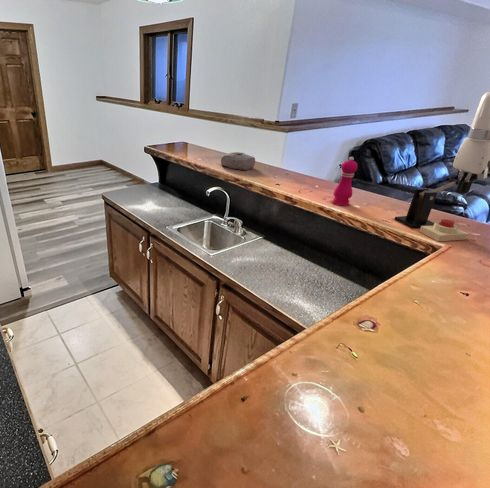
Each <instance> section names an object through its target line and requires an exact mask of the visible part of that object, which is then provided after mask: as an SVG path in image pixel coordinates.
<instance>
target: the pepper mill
mask: <svg viewBox="0 0 490 488" xmlns="http://www.w3.org/2000/svg"><path fill="white" fill-rule="evenodd" d="M358 168H359V166H358V163H357V161H355V158H354V156H350V157H348V160H345V161H343V162H342V163H341V167H340V169H341V172H340V176H341V177H340V180H339V183H338V184H337V185H336V187H335V188H334V190H333V196H334V197H333V199H332V204H334V205H336V206H341V207H343V206H344V207H345V206H349V203H350V199H351V198H352V197H353V187H352V179H353V178H354V177H355V172H356V171H357V170H358Z"/></svg>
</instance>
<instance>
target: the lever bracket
mask: <svg viewBox="0 0 490 488" xmlns="http://www.w3.org/2000/svg"><path fill="white" fill-rule="evenodd" d="M425 190H427V191H429V188H415V190H414V192H413V195H412V198H411V201H410V205H409V207H408V210H407V213H406V215H402V216H401V215H399V216H394V219H393V220H395V221H396V222H399V223H400V224H402V225H404V226H406V227H408V228H410V229H412V230H416V229H420V228H421V226H431V225H434V223H435V222H433V221H432V220H429V217H430V215H431V212H432V209H433V207H434V204H435V200H436V198H437V195H438V192H425V193H424V195H423V198H422V200H421V199H419V193H420V192H423V191H425Z"/></svg>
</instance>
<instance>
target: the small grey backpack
mask: <svg viewBox="0 0 490 488" xmlns="http://www.w3.org/2000/svg"><path fill="white" fill-rule="evenodd" d="M219 159H220V165H221V166H224V167H226V168H229V169H233V170H242V171H250V170H252V169H253V168H254V166H255V165H256V157H254V156H252V155H250V154H246V153H245V152H238V151H235V152H226V153H224V154H223V155H221V157H220V158H219Z"/></svg>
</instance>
